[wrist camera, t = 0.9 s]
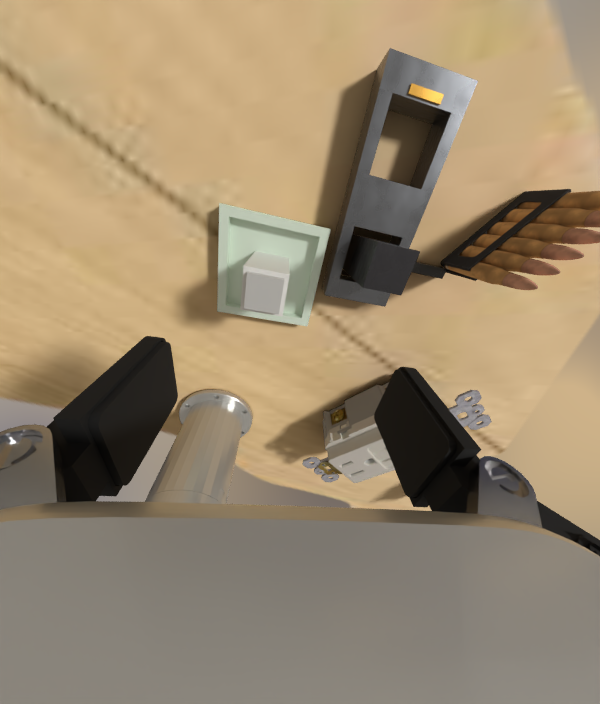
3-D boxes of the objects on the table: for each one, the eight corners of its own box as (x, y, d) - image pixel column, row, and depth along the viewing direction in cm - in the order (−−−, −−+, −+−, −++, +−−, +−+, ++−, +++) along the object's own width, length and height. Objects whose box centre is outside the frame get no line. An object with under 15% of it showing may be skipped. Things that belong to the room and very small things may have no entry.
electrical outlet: (461, 390, 41) (502, 438, 32) (327, 446, 50) (333, 495, 42) (440, 345, 35) (483, 390, 27) (295, 418, 45) (294, 468, 37)
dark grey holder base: (422, 307, 33) (464, 336, 25) (321, 288, 30) (333, 313, 23) (516, 118, 23) (636, 69, 15) (376, 69, 20) (432, -20, 13)
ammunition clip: (446, 272, 30) (528, 303, 20) (439, 262, 29) (522, 288, 19) (530, 204, 27) (683, 198, 16) (525, 190, 26) (682, 175, 16)
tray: (306, 321, 33) (307, 326, 31) (220, 306, 31) (217, 311, 29) (328, 228, 27) (330, 229, 25) (223, 203, 25) (219, 203, 23)
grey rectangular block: (283, 289, 30) (282, 319, 21) (252, 284, 29) (239, 311, 21) (288, 257, 28) (289, 276, 19) (255, 250, 27) (242, 266, 19)
